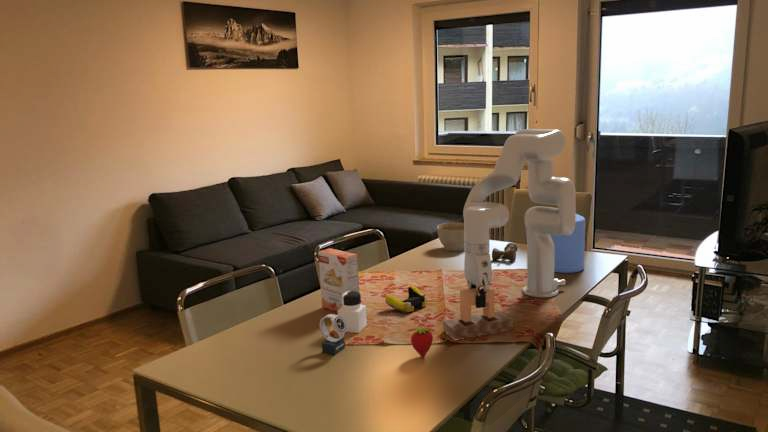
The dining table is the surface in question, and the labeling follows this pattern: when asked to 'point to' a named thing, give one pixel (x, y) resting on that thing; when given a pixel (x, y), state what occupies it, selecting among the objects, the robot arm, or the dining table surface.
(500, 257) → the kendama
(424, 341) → the strawberry
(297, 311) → the dining table surface
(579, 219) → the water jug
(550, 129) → the robot arm
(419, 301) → the gaming controller
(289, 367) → the dining table surface
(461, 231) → the planter bowl
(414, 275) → the dining table surface
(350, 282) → the cracker box
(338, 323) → the watch
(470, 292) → the peach block
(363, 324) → the medicine bottle
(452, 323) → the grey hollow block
